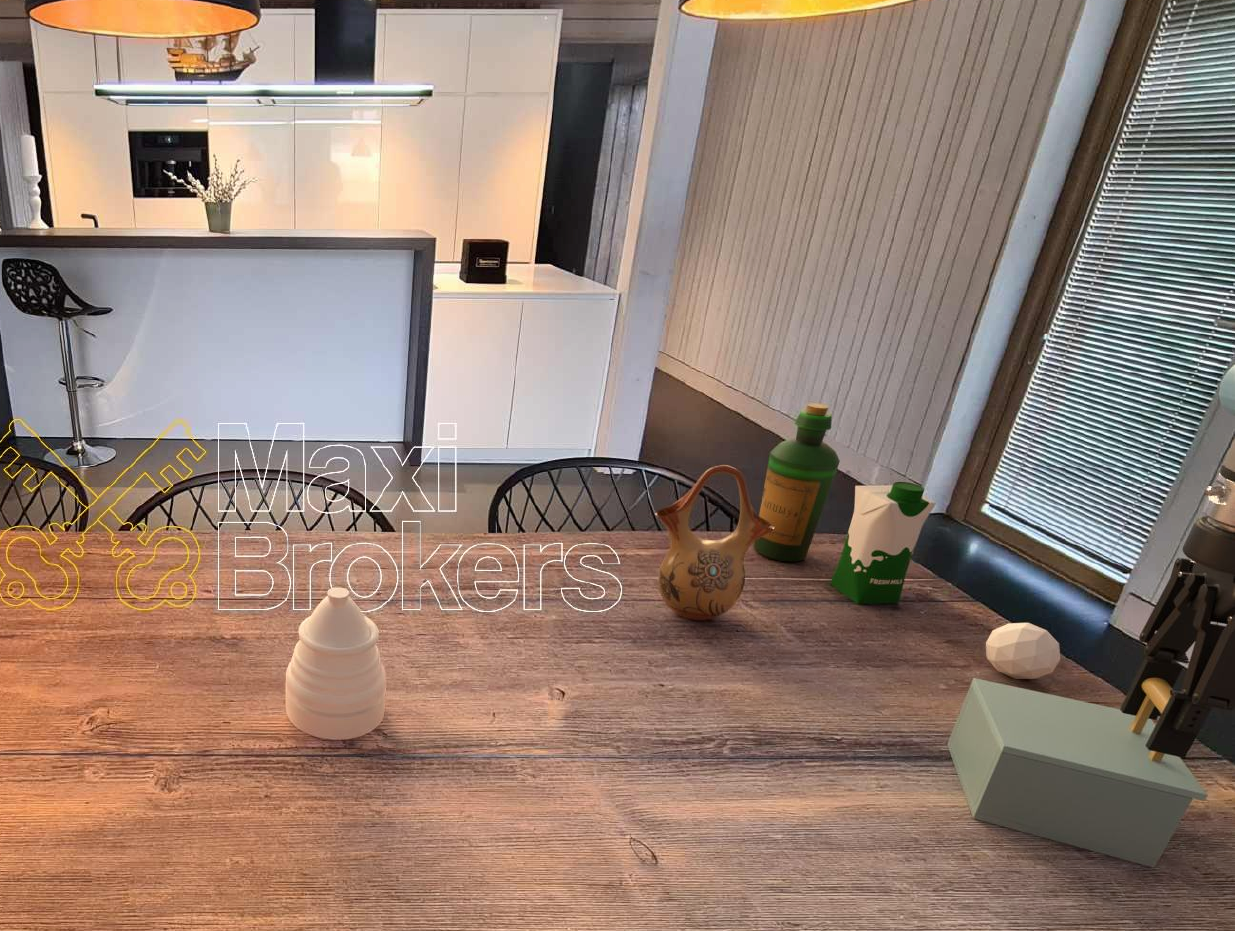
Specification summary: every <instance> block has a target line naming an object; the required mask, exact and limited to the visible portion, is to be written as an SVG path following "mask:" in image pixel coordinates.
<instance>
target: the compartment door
mask: <svg viewBox="0 0 1235 931" xmlns="http://www.w3.org/2000/svg"><path fill="white" fill-rule="evenodd" d="M971 684H972V686H973V688H974V690H975V693H976V695H977V697H978V699H979V702H980V704H981V706H982V708H983V711H984V713H985V715H986V717H987V720H988V722H989V724H990V726H991V729H992V731H993V733H994V736H995V738H996V740H997V742H998V745H999V747H1000V749H1001V751H1002V752H1005V753H1009V754H1013V755H1017V756H1021V757H1025V758H1029V759H1033V760H1037V761H1042V762H1046V763H1050V764H1054V765H1058V766H1062V767H1066V768H1070V769H1074V770H1078V771H1083V772H1087V773H1091V774H1095V775H1099V776H1103V777H1107V778H1111V779H1115V780H1119V781H1124V782H1128V783H1132V784H1136V785H1140V786H1144V787H1148V788H1152V789H1156V790H1161V791H1165V792H1169V793H1173V794H1177V795H1181V796H1185V797H1189V798H1192V799H1194V800H1198V801H1202V802H1206V800H1207V798H1208V793H1207V792H1206V790H1205V789H1204V788H1203V786H1202V785H1201V784H1200V782H1199V781H1198V779H1197V778H1196V777H1195V775H1194V773H1193V772H1191V769H1189V767H1188V766H1187V765H1186V763H1185V762H1184V761H1183V758H1182V757H1177V756H1173V755H1168V754H1164V753H1160V752H1155V751H1151V750H1148V749H1147V747H1146V746H1145V745H1146V743H1147V741H1148V740H1149V738H1150V736H1151V734H1152V732H1153V730H1154V728H1155V726H1156V723H1155V721H1154V720H1152V719H1148V718H1149V716H1150V714H1151V712H1152V710H1153V708H1154V706H1156V707H1157V709H1158V710H1159V711H1160V715H1161V714H1162V712H1163V710H1164V708H1165V706H1166V704H1167V702H1168V701H1169V699H1170V697H1171V695H1170V690H1174V689H1173V688H1171V687H1170V685H1169V684H1168V683H1167V682H1166V681H1165V680H1163V679H1161V678H1149V679H1146V680H1145V681H1144V682H1143V683H1142V689H1143V690H1144V692H1145V693H1146V694H1147V695H1146V697H1145V699H1144V701H1143V703H1142V705H1141V707H1140V709H1139V711H1138V713H1137V715H1136V716H1134V715H1129V714H1125V713H1122V712H1121V710H1120V708H1116V707H1110V706H1106V705H1101V704H1096V703H1091V702H1087V701H1082V700H1079V699H1078V700H1077V699H1073V698H1068V697H1063V696H1060V695H1054V694H1052V693H1051V694H1050V693H1046V692H1040V691H1036V690H1031V689H1028V688H1023V687H1018V686H1013V685H1008V684H1004V683H999V682H995V681H991V680H990V681H989V680H986V679H980V678H975V677H973V678H972V681H971ZM971 684H970V685H971Z"/></svg>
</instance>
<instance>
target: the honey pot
mask: <svg viewBox="0 0 1235 931" xmlns="http://www.w3.org/2000/svg"><path fill="white" fill-rule="evenodd" d="M326 595H327V596H325V597H324V598H323V599H322V600H321V601H320V603H318V605H317V606H316V607H315V609H314V610H313V611H312V613H311V615H310V616H307V617H306V618H305V619H304V620H303V621H302V622H301V623H300V625H299V627H298V629H297V630H298V631H297V632H298V638H299V640H298V642H297V643H296V644H295V647H294V649H293V654H292V656H291V659H290V662H289V663H288V665H287V668H286V672H285V711H286V712H285V714H286V716H287V718H288V720H289V721H290V722H289V723H291V724H292V725H293V726H294V727H295V728H296V729H298V730H300V731H301V732H303V733H305V734H307V735H309V736H312V737H315V738H319V739H324V740H331V741H338V740H339V741H342V740H350V739H356V738H360V737H362V736H365V735H367V734H369V733H371V732H373V731H374V730H375V729H376V728H378V727H379V726H380V725H381V723H382V721H383V720H384V718H385V711H386V699H387V698H386V697H387V679H388V678H387V674H386V670H385V666H384V665H383V662H382V659H381V655H380V654H381V653H380V649H379V647H378V646H377V645H376V644H377V643H378V641H379V638H380V631H379V627H378V626H377V624H376V623H375V622H374V621H373V620H372V619H370V618H369V617H367V616H366V615H364V614H363V612H362V611H361V609H360V607H359V606H358V605H357V604H356V602H355V601H354V599H352V598H351V597H350V591H349V590H348V589H347V588H344V587H339V586H336V587H331V588H329V589H328V590H327V592H326Z"/></svg>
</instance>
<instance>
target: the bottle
mask: <svg viewBox="0 0 1235 931" xmlns="http://www.w3.org/2000/svg"><path fill="white" fill-rule="evenodd" d="M829 408H830V406H829V405H826V404H823V403H815V402H810V403H807V404H806V409H801V411H800V412H799V414H798V416H797V418H796V420H795V422H794V425H796V426H797V429H796V434H795V435H796V436H795V437H791V438H787V439H786V440H784V441H780V443H778V444H777V446H775V447H774V448H773V449H772V450H771V451H770V453H769V457H768V463H767V468H766V475H765V479H764V480H765V481H764V485H763V486H764V488H763V491H762V497H761V502H760V509H759V514H758V516H759V517H761V518H763V519H764V520H766V521H767V522H769V523H770V524H771V525H772V526H773V527H774V530H773V531H771V532H769V533H767V534H765V535H764V536H762V537H760V538H759V539H757V540H756V541H755V542H753V548H754V550H755V551H756V552H757V553H758V554H760V555H762V556H764V557H765V558H768V559H770V560H773V561H778V562H783V563H785V562H786V563H794V562H800V561H804V560H805V559H806V558H807V555H808V553H809V551H810V547H811V544H812V541H813V538H814V536H815V532H816V530H817V527H818V525H819V522H820V519H821V516H822V513H823V510H824V508H825V505H826V502H827V499H828V496H829V493H830V490H831V487H832V485H833V482H834V480H835V476H836V474H837V471H838V468H839V465H840V463H841V460H840V458H839V456H838V454H837V452H836V450H834V449H833V448H832V447H831V446H829V444H827V443H826V442H825V441H823V440H824V438H825V436H826V432H827V431H829V430H832V422H833V421H832V420H833V419H832V418H833V414H831V413H830V412H828V411H829Z"/></svg>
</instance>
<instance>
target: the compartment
mask: <svg viewBox="0 0 1235 931" xmlns="http://www.w3.org/2000/svg"><path fill="white" fill-rule="evenodd" d="M946 745H947V748H948V751H949V753H950V757H951V760H952V762H953V765H954V768H955V771H956V774H957V776H958V779H959V782H960V785H961V789H962V791H963V794H964V796H965V799H966V802H967V805H968V808H969V811H970V813H971V816H972V819H975V820H978V821H981V822H985V823H989V824H992V825H996V826H999V827H1002V828H1007V829H1011V830H1015V831H1018V832H1022V833H1025V834H1029V835H1031V836H1032V835H1033V836H1036V837H1039V838H1043V839H1047V840H1051V841H1054V842H1058V843H1061V844H1065V845H1069V846H1071V847H1076V848H1080V849H1083V850H1087V851H1091V852H1095V853H1098V854H1101V855H1106V856H1109V857H1113V858H1116V859H1119V860H1123V861H1127V862H1130V863H1135V864H1138V865H1142V866H1145V867H1149V868H1153V869H1154V868H1155V867H1156V865H1157V864H1158V862H1159V861H1160V859H1161V857H1162V855H1163V853H1164V851H1165V850H1166V848H1167V846H1168V844H1169V843H1170V840H1172V837H1173V835H1174V834H1175V832H1176V830H1177V828H1178V827H1179V824H1181V821H1182V819H1183V818H1184V816H1185V814H1186V812H1187V810H1188V809H1189V807H1190V806H1191V803H1192V801H1193V798H1189V797H1185V796H1181V795H1177V794H1173V793H1169V792H1165V791H1161V790H1156V789H1152V788H1148V787H1144V786H1140V785H1136V784H1132V783H1128V782H1124V781H1119V780H1115V779H1111V778H1107V777H1103V776H1099V775H1095V774H1091V773H1087V772H1083V771H1078V770H1074V769H1070V768H1066V767H1062V766H1058V765H1054V764H1050V763H1046V762H1042V761H1037V760H1033V759H1029V758H1025V757H1021V756H1017V755H1013V754H1009V753H1005V752H1002V751H1001V749H1000V747H999V745H998V742H997V740H996V738H995V736H994V733H993V731H992V729H991V726H990V724H989V722H988V720H987V717H986V715H985V713H984V711H983V708H982V706H981V704H980V702H979V699H978V697H977V695H976V693H975V690H974V688H973V686H972V684H970V685H969V688H968V691H967V693H966V696H965V698H964V701H963V702H962V706H961V708H960V711H959V714H958V715H957V719H956V721H955V723H954V726H953V728H952V730H951V734H950V735H949V739H948V741H947V744H946Z"/></svg>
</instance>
